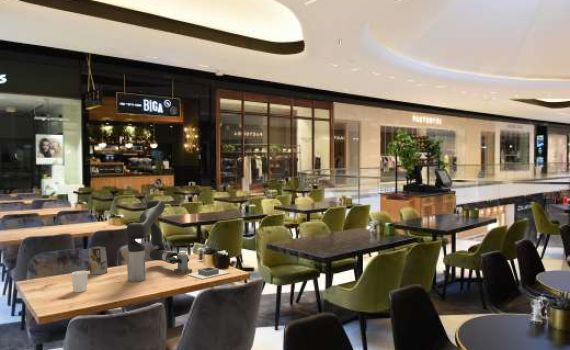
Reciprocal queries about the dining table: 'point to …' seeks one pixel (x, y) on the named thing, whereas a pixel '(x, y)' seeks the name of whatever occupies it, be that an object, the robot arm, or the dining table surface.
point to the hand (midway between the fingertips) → (184, 260)
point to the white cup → (79, 281)
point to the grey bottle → (183, 261)
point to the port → (208, 273)
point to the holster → (182, 271)
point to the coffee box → (98, 260)
